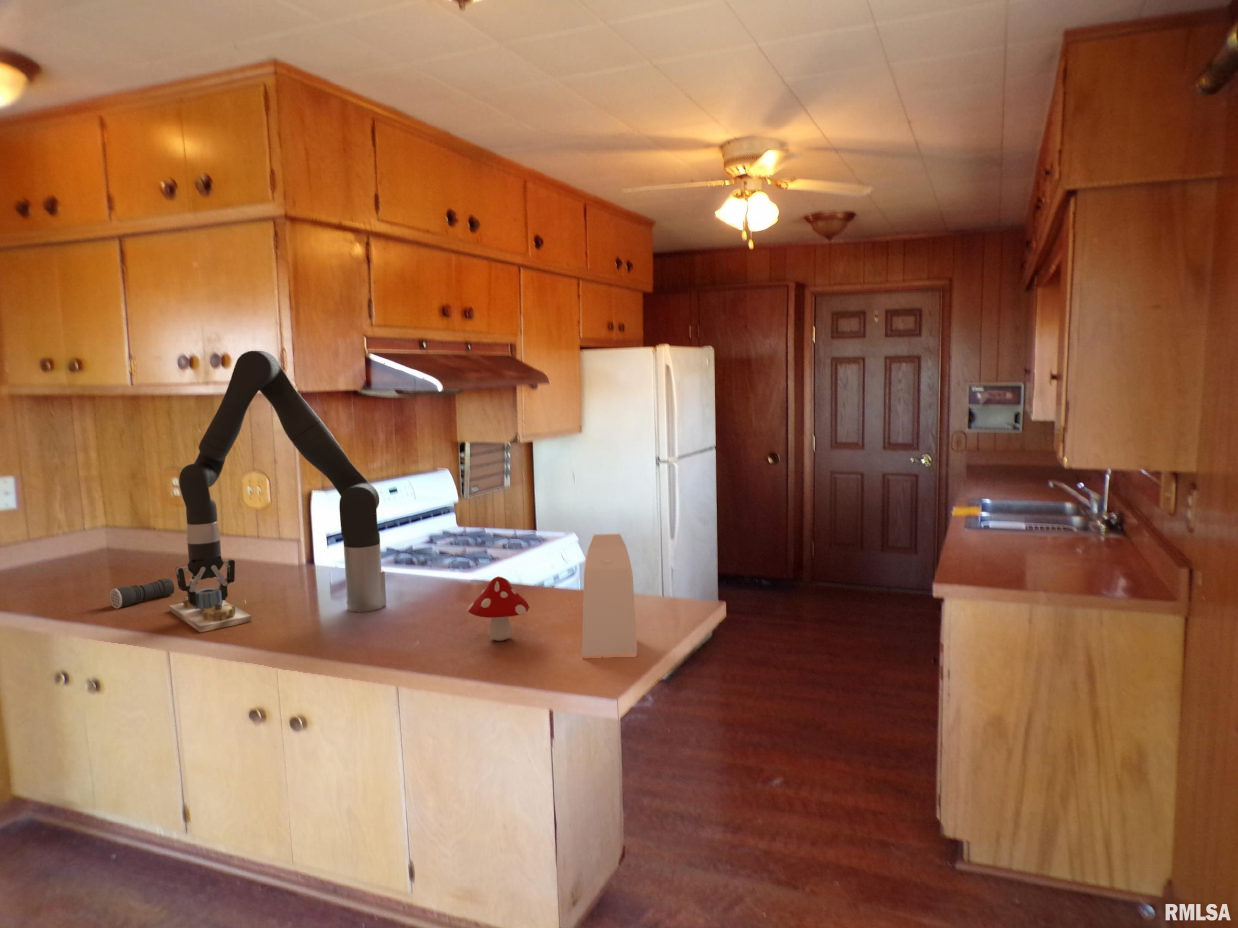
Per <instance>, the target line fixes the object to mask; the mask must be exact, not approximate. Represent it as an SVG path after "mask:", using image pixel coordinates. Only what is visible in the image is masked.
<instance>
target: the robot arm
mask: <svg viewBox="0 0 1238 928" xmlns="http://www.w3.org/2000/svg"><path fill="white" fill-rule="evenodd" d="M227 385H228V386H227V388H226V391H225V393H224V395H223V398H222V400H221V402H220V404H219V407H218V409H217V411H216V413H215V414H214V416H213V418H212V419H211V422H210V424H209V426H208V427H207V428H206V431H205V432H204V434H203V436H202V439H201V440H200V442H199V444H198V450H199V453H198V455H197V457H196V460H195V461H194V462H193V463H191V464H187V465H186V466H183V468H182V469H181V470H180V472H179V477H178V485H179V490H180V493H181V497H182V500H183V503H184V505H185V512H186V513H185V514H186V517H185V518H186V542H187V543H186V544H187V555H188V563H187V565H185V566H182V567H180V566H177V567H175V574H176V580H177V585H178V589H179V590H181V591H182V592H187V597H188V602H189V604H191V605H192V606H196V594H195V591H196V587H197V585H199V583H200V581H201V580H206V579H213V578H215V579H216V580H217V582H218V583H219V584H220V585H219V586H218V588H221V592H222V601H223V600H224V601H226V599H227V598H228V595H229V594H228V585H229V584H231V583H234V582H235V579H236V577H235V574H236V571H235V570H236V569H235V567H236V562H235V560H234V559H233V558H228V559H223V558H222V549H221V536H220V527H219V522H218V511H217V509H218V508H217V503H216V502H215V500H214V499H211V494H210V493H211V492H210V487H212V486H213V485H215V483H216V482H217V481H218V479H219V477H220V475H221V473H222V470H223V468H224V465H225V461H226V458H227V456H228V455H229V453H230V451H231V449H232V447H233V445H234V443H235V442H236V440H237V438H238V436H239V434H240V431H241V428H242V426H243V423H244V418H245V415H246V413H247V411H248V408H249V406H250V404H251V402H252V401H253V399H254V398H255V396H256V395H258V392H260V393H261V394H262V396H263V397H264V398H265V399H266V400H267V401H268V403H270V404H271V406H272V408H273V409H274V411H275V413H276V414H277V417H278V420H279V421H280V425H281V427H282V429H283V431H284V433H285V435H286V436H287V437H288V439H289V441H290V442H291V443H292V444H293V446H294V447H295V448H296V450H297V451H298V452H299V454H301V456H303V458H304V459H305V460H306V461H307V462H308V463H310V465H312V466H313V467H314V468H315V469H317V470H318V471H319V472H320V473H322V475H324V476H325V477H326V478H327V479H328V481H330V482H331V484H332V486H334V488H335V490H336V491H337V493H338V494H339V496H340V498H339V509H338V510H339V519H340V520H339V522H340V533H341V537H342V541H343V542H342V543H343V553H344V554H343V555H344V557H343V558H344V571H345V572H344V573H345V575H344V576H345V589H346V592H345V593H346V608H347V611H350V612H353V613H365V612H372V611H377V610H379V609H381V608H384V607H386V606H387V590H386V572H385V570H382V555H381V536H380V532H379V528H378V527H379V525H378V516H377V515H378V514H377V510H378V508H379V504H380V495H379V492H378V490H377V489H376V488H375V487H374V485H373V484H372V483H370V482H369V480H368V479H367V478H366V477H365V476H364V475H363V474H362V473H361V472H360V471H359V470H358V469H357V468H356V466H355V465H354V464H353V463H352V462H351V460H350V459H349V457H348V455H347V453H345V451H344V450H343V447H341V445H340V444H339V442H338V441H337V440H336V438H335V436H334V435H333V434H332V432H331V431H330V429H329V428H328V427H327V426H326V424H325V423H324V422H323V421H322V419H321V417H319V415H318V414H317V413H316V412H315V410H313V408H312V407H311V406H310V404H309V403H308V402H307V401H306V400H305V399H304V398H303V397H302V395H301V394H300V393H299V392H298V391H297V390H296V388H295V387H294V385H293V383H292V381H291V380H290V378H289V377H288V375H287V374H286V372H285V371H284V368H283V367H282V365H281V364H280V362H279V361H278V359H277V358H276V357H275V356H274V355H273V354H271V353H269V352H267V351H263V350H250V351H249V350H248V351H246V352H243V353H242V354H240V355H239V357H238V358H237V360H236V362H235V365H234V368H233V370H232V373H231V377H230V380H229V383H228V384H227ZM223 566H224V567H225V568H226V578H225V577H224V575H223V574H222V573H221V569H222V567H223ZM188 572H190V573H191V576H190V578H189V582H188V584H187V583H186V575H187V573H188Z"/></svg>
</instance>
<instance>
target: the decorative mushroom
mask: <svg viewBox="0 0 1238 928" xmlns="http://www.w3.org/2000/svg"><path fill="white" fill-rule="evenodd" d="M529 609H530V605H529V603H528V602H527V600H526V599H524V597H522V596H521V594H519V592H518V591H517V590H516V589H514V588H513V587H512V584H511V582H510V581H509V580H508V579H507V578H504V577H503V576H496V577H493V578H492V579H491V581H490V582H489V583H488V585H487V586H486V588H485V589H483V590H481V592H480V595H478V597H477V598H476V599H475V600H474V601H473V602H472V603H470V604H469V606H468V607H467V612H468V613H469V614H470V615H473V616H474V617H478V618H482V619H490V623H489V625H488V626H489V627H488V633H487V634H488V637H489V639H491V640H493V641H498V642H500V641H505V640H508V639H509V638H511V636H512V635H513V628H512V625H511V622H510V619H509V618H513V617H516V616H523V615H525V613H527V612H528V611H529Z"/></svg>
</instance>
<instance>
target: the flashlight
mask: <svg viewBox="0 0 1238 928" xmlns="http://www.w3.org/2000/svg"><path fill="white" fill-rule="evenodd" d="M174 593H175V584H174V582H173V580H172V579H171V578H161V579H158V580H156V581H153V582H148V583H146V584H142V585H141V584H140V585H138V584H137V585H136V584H135V585H131V586H121V587H116V588H112V589H111V590H110V593H109V600H110V603H111V605H112V607H113V608H115V609H122V608H125V607H126V608H127V607H130V606H131V605H134V604H139V603H141V602H142V601H146V600H149V599H151V600H152V599H156V598H167V597H170V596H171V595H173V594H174Z"/></svg>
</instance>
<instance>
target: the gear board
mask: <svg viewBox="0 0 1238 928" xmlns="http://www.w3.org/2000/svg"><path fill="white" fill-rule="evenodd" d="M169 612H171V613H172V614H173V615H175V616H176V617H178V618H179V619H181V620H182V621H183V622H185V623H187V624H188V625H189V626H190V627H192V628H193V629H195V630H196V631H198V632H199V633H204V632H208V631H213V630H218V629H223V628H227V627H231V626H236V625H240V624H246V623H249V622H252V616H251V614H249V613H246V611H244V610H242V609H240V608H238V607H236V606H235V605H233V604H231V603H229V602H227V601H226V600H223V604H221V603H217V604H216V605H215V606H213V607H212V608H209V609H204V610H200V609H195V608H194V606H192V605H191V604H189V602H188V596H185V597H183V599H182V602H180V603H176V604H172V605H171V604H169Z"/></svg>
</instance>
